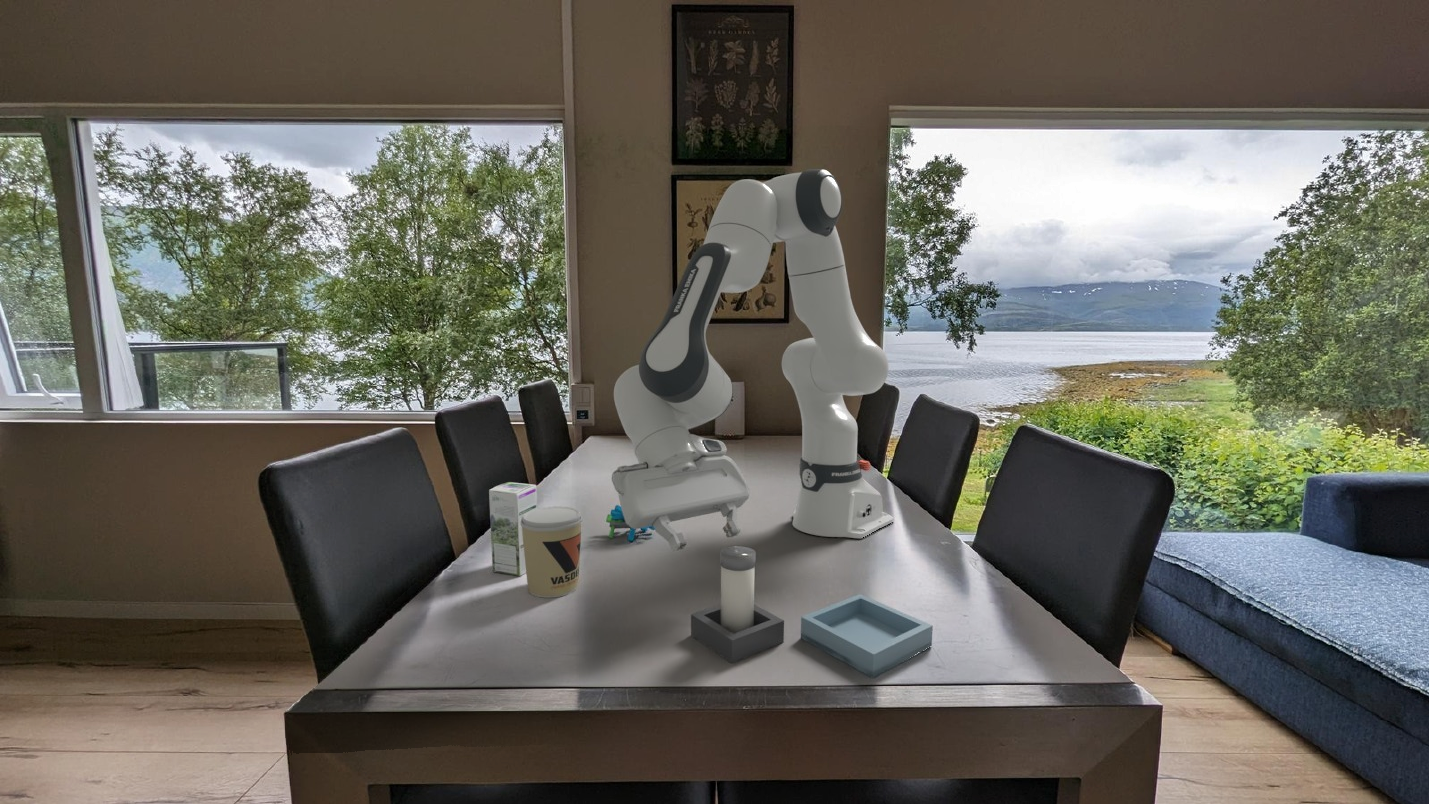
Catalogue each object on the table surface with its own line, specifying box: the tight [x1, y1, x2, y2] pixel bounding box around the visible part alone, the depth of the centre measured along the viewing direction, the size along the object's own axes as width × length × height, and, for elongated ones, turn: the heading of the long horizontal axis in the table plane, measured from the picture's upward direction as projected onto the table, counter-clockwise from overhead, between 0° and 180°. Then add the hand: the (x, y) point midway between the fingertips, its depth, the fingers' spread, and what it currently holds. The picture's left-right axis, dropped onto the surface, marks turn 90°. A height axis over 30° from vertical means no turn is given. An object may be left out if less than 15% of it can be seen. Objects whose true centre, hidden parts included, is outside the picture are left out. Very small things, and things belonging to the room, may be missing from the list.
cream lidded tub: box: [521, 506, 583, 599], centre depth 99 cm, size 9×9×12 cm
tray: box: [800, 593, 934, 679], centre depth 83 cm, size 12×12×3 cm
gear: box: [605, 504, 655, 542], centre depth 123 cm, size 11×6×10 cm
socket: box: [690, 603, 785, 664], centre depth 84 cm, size 9×9×3 cm
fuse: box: [719, 545, 757, 634], centre depth 83 cm, size 5×5×12 cm
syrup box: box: [488, 481, 538, 577], centre depth 106 cm, size 6×6×14 cm
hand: (708, 541), depth 87 cm, fingers open, 8 cm apart
